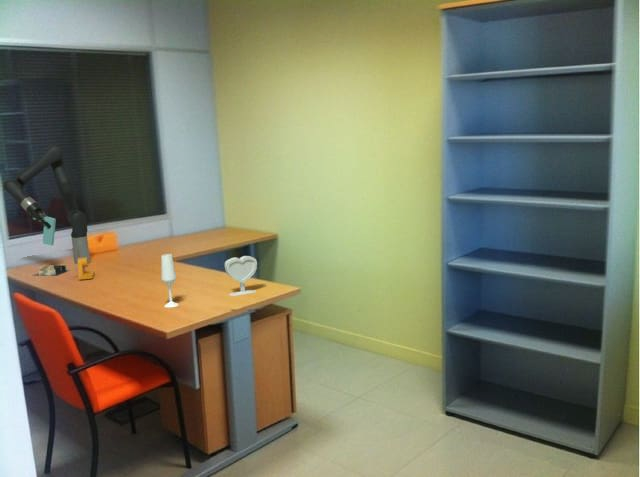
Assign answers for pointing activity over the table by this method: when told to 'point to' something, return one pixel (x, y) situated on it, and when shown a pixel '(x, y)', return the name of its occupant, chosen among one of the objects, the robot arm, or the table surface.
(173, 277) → the champagne flute
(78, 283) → the table surface
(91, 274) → the bracket
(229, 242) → the table surface
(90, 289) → the table surface
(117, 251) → the table surface
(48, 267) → the offcut top
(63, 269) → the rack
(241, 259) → the heart sculpture
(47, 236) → the teal rectangular slab
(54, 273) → the block
